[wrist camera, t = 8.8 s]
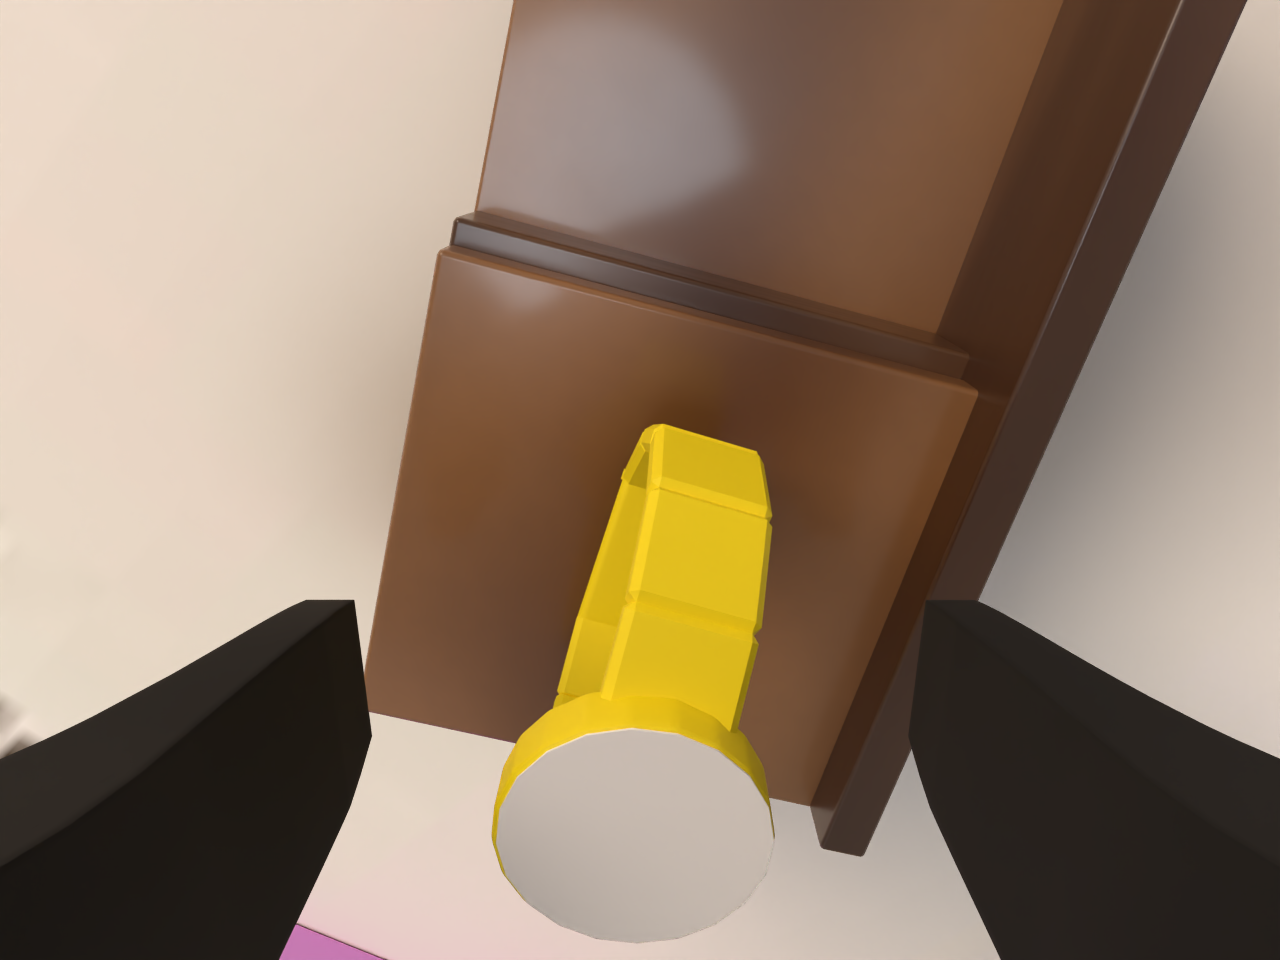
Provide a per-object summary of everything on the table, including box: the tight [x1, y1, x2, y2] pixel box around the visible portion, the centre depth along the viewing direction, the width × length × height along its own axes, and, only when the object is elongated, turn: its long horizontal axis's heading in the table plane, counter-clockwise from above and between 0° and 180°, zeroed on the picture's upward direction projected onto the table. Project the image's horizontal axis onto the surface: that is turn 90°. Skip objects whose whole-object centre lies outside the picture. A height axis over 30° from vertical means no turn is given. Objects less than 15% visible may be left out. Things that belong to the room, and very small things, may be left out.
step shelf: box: [364, 0, 1247, 857], centre depth 15 cm, size 9×16×6 cm, turn 165°
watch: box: [492, 424, 775, 943], centre depth 11 cm, size 6×3×6 cm, turn 163°
